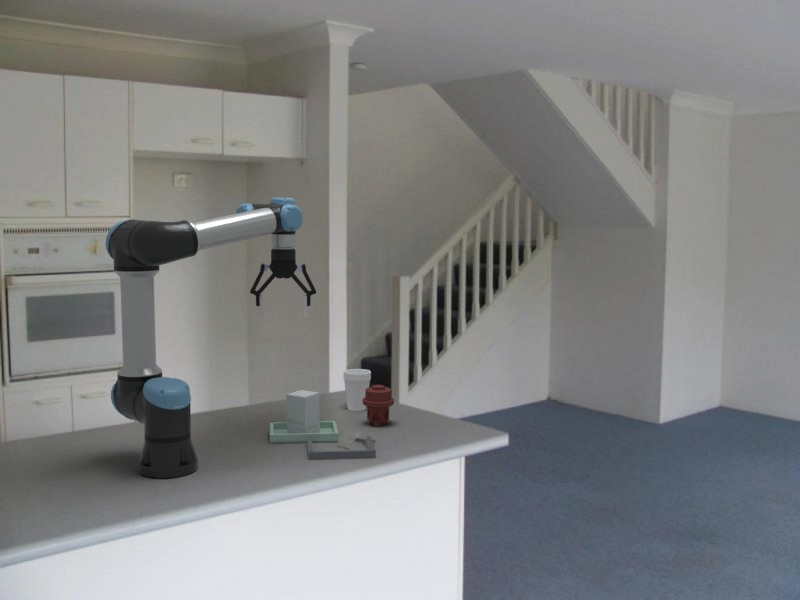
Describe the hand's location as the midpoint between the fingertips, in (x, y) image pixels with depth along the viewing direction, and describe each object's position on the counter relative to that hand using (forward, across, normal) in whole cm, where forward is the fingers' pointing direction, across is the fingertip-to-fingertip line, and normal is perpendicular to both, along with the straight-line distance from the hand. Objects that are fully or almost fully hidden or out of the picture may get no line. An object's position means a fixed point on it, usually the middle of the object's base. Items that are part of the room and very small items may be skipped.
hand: (283, 316), depth 256 cm
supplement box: (+34, -6, +12) cm, 37 cm away
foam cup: (+35, -25, -20) cm, 47 cm away
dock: (+35, -16, +28) cm, 47 cm away
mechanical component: (+35, -30, 0) cm, 46 cm away
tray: (+35, -6, +12) cm, 37 cm away
